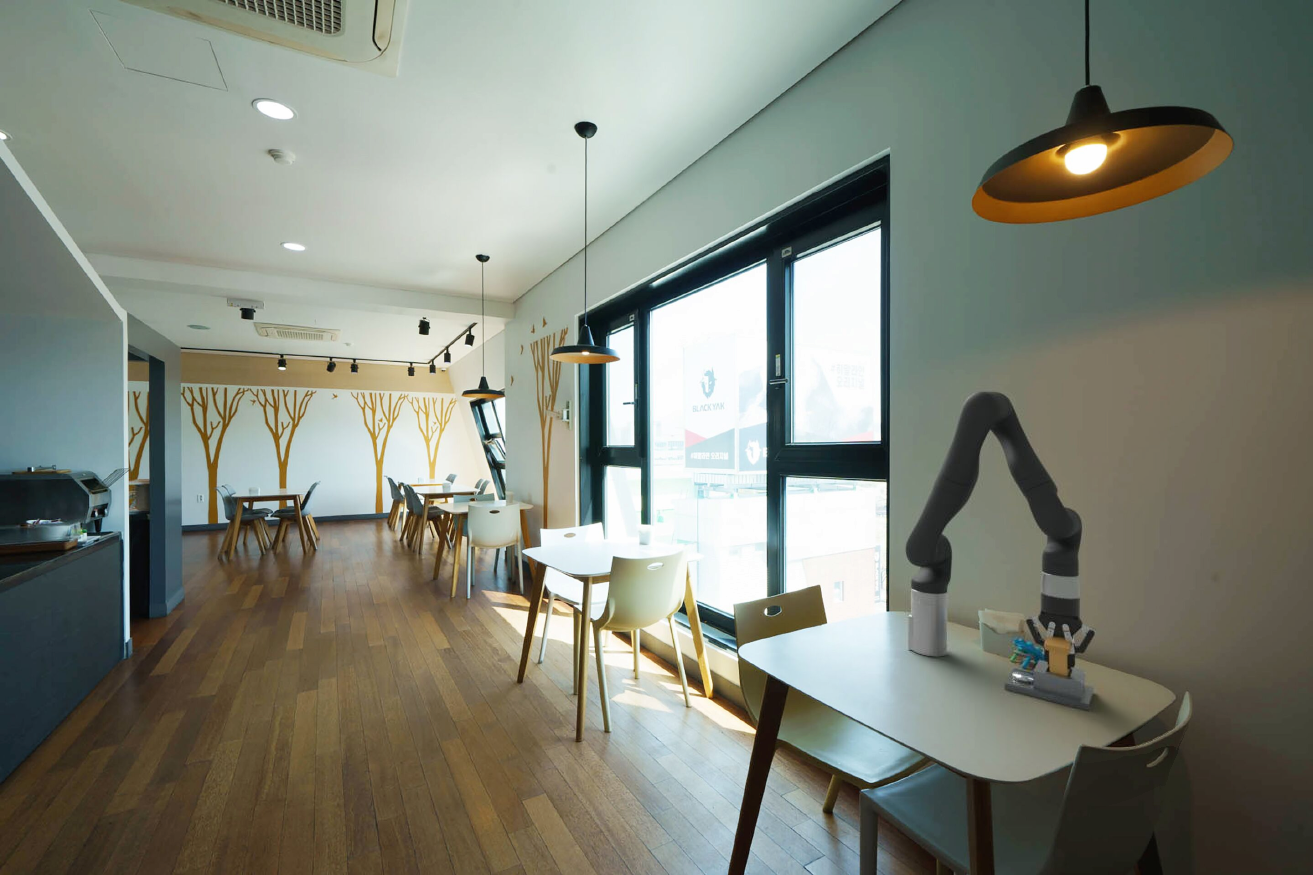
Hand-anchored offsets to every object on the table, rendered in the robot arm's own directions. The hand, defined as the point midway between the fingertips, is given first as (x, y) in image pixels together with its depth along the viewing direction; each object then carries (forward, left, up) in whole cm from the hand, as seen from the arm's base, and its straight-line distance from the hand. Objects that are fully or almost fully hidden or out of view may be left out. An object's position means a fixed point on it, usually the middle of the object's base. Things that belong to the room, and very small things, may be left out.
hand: (1059, 665), depth 133 cm
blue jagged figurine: (-8, +15, -7) cm, 18 cm away
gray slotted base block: (-2, 0, -7) cm, 7 cm away
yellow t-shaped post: (0, 0, -5) cm, 5 cm away
